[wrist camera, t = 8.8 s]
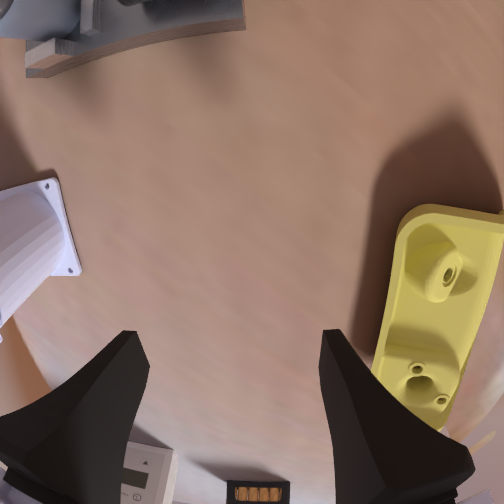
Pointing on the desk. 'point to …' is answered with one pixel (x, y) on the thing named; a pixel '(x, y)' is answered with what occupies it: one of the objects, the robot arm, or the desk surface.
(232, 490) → the ammunition clip
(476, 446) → the desk surface
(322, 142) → the desk surface
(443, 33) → the desk surface
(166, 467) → the thermostat
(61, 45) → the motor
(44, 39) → the grey capped cylinder
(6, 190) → the robot arm
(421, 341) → the plastic component
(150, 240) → the desk surface
